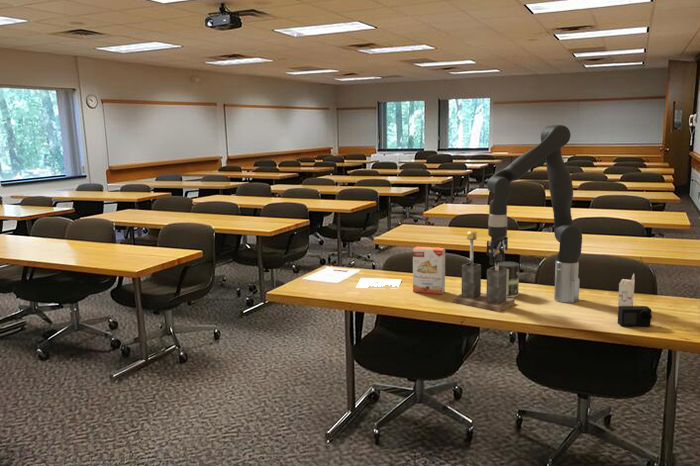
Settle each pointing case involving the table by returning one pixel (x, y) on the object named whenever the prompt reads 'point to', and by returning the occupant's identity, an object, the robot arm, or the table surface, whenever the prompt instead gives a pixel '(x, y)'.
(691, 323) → the table surface
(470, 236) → the plunger brass
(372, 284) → the paper sheet
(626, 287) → the ink cartridge box
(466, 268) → the stand
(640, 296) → the table surface
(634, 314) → the digital camera
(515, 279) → the coffee can
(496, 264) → the plunger black
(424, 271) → the cracker box
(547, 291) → the table surface
